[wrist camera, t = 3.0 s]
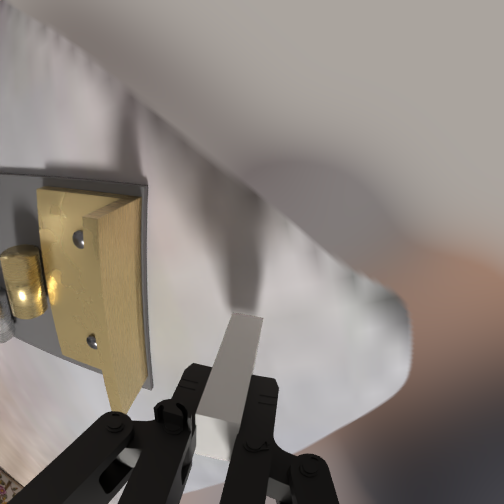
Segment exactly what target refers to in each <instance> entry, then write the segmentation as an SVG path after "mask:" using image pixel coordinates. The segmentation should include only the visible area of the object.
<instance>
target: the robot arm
mask: <svg viewBox="0 0 504 504" xmlns="http://www.w3.org/2000/svg"><path fill="white" fill-rule="evenodd" d="M262 322H263V318H261V317H255V316H250V315H245V314H239V313H234V312H233V313H232V316H231V319H230V321H229V324H228V327H227V329H226V332H225V335H224V338H223V340H222V343H221V346H220V349H219V351H218V354H217V357H216V359H215V362H214V365H213V367H208V366H204V365H200V364H195V363H193V364H191V365H190V366H189V367H188V368H186V369H185V371H184V373H183V375H182V377H181V380H180V381H179V383H178V386H177V388H176V390H175V392H174V394H173V396H172V399H168V400H163V401H161V402H159V403H157V405H156V406H155V407H154V414H155V420H152V421H131V418H130V417H129V416H127V415H126V414H125V413H122V412H119V411H111V412H107V413H105V414H103V415H102V416H101V417H100V418H98V419H97V420H96V421H95V422H94V423H93V424H92V425H91V426H90V427H89V428H88V429H87V430H86V431H85V432H84V433H82V434H81V435H80V436H79V437H78V438H77V439H76V440H75V441H74V442H73V443H72V444H71V445H70V446H68V447H67V448H66V449H65V450H64V451H63V452H62V453H61V454H60V455H59V456H58V457H57V458H56V459H54V460H53V461H52V462H51V463H50V464H49V465H48V466H47V467H46V468H45V469H44V470H43V471H41V472H40V473H39V474H38V475H37V476H36V477H35V478H34V479H33V480H32V481H30V482H29V483H28V484H27V485H26V486H25V487H24V488H23V489H22V490H21V491H20V492H18V493H17V494H16V495H15V496H14V497H13V498H12V499H11V500H10V501H8V502H7V503H6V504H108V503H109V502H110V501H111V500H112V498H113V497H114V496H115V495H116V494H117V493H118V492H119V491H120V489H121V488H122V487H123V486H124V485H125V484H126V482H127V481H128V482H127V484H126V487H125V489H124V491H123V493H122V495H121V497H120V500H119V502H118V504H179V503H180V500H181V497H182V494H183V491H184V488H185V485H186V482H187V479H188V476H189V473H190V470H191V467H192V457H193V454H194V451H195V454H198V455H202V456H207V457H211V458H215V459H220V460H225V461H230V464H229V468H228V472H227V476H226V480H225V484H224V488H223V492H222V496H221V500H220V504H265V500H266V496H269V497H271V498H273V499H276V502H277V504H339V501H338V498H337V495H336V491H335V488H334V484H333V481H332V478H331V474H330V471H329V468H328V465H327V464H326V462H325V460H323V459H322V458H320V456H317V455H314V454H302V455H299V456H295V455H292V454H290V453H288V452H286V451H284V450H282V449H281V448H280V447H279V446H278V445H277V444H276V443H275V440H274V437H273V432H274V424H275V416H276V408H277V400H278V391H279V387H278V385H277V382H276V380H275V379H274V378H268V377H262V376H256V375H253V370H254V365H255V361H256V355H257V350H258V344H259V339H260V333H261V328H262Z"/></svg>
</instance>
